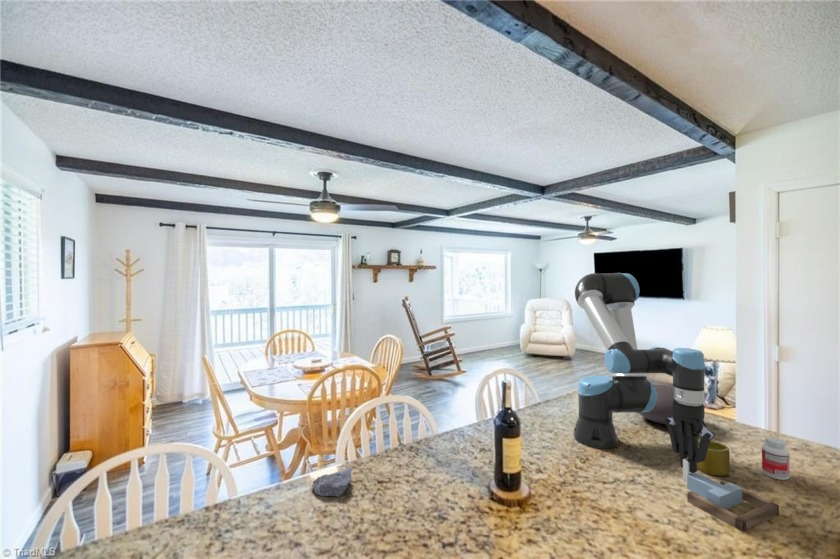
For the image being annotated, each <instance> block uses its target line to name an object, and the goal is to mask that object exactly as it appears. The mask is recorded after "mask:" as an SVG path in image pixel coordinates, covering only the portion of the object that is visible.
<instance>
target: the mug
mask: <svg viewBox="0 0 840 559" xmlns="http://www.w3.org/2000/svg"><path fill="white" fill-rule="evenodd" d="M700 440H701V439H700V438H698V447H699V443H700ZM730 454H731V453H730V449H729V447H728V446H726V444H723V443H720V442H718V441H714V440H713V441H712V440H711V441H710V444H709V448H708V451H707V454H706V457H705V461H703V462H699V463H697V470H699V471H700V472H702V473H704V474H707V475H712V476H717V477H720V476H721V477H722V476H723V477H725V476H728V475H729V476H730V473H731V461H730V459H731V456H730Z"/></svg>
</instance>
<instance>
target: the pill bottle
mask: <svg viewBox="0 0 840 559" xmlns="http://www.w3.org/2000/svg"><path fill="white" fill-rule="evenodd" d="M786 447H787V442H786V441H785V440H784V439H782V438H779V437H775V436H766V437H765V438H764V444H762V445H761V471H762V473H763V474H764V475H766V476H767V477H770V478H771V479H776V480H779V481H780V480H781V481H786V480H787V481H788V479H790V451H789V450H788V449H787V448H786Z"/></svg>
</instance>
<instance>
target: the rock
mask: <svg viewBox="0 0 840 559" xmlns="http://www.w3.org/2000/svg"><path fill="white" fill-rule="evenodd" d="M352 471H353V469H352V467H347V468H345V469H344V470H340V471H337V472H336V471H335V472H334V473H330V474H323V475H321V476H317V478H316V479H315V480H313V481H312V485H311V487H312V489H313V491H314V493H315V494H316V495H317V494H318V495H317V496H321V497H328V496H333V497H338V498H340V497H342V496H343V494H344V493H345V491H346V490H347V489H348V487H349V484H350V482H351V481H352V480H351V479H352ZM341 495H342V496H341ZM339 496H340V497H339Z"/></svg>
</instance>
